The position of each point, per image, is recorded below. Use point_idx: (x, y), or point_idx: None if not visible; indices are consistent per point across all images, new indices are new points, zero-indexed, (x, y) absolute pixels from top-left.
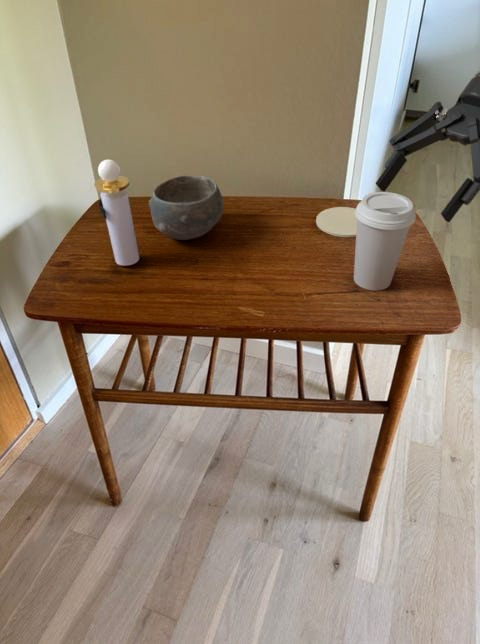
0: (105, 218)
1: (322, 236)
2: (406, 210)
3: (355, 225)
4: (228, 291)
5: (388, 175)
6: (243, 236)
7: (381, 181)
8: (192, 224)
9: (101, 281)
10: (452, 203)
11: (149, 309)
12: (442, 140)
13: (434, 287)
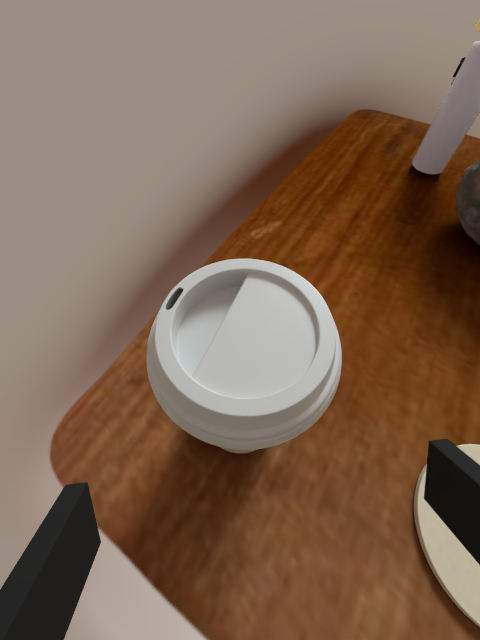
0: (454, 76)
1: (436, 429)
2: (164, 341)
3: None
4: (318, 225)
5: (478, 507)
6: (467, 298)
7: (443, 457)
8: (464, 187)
9: (390, 147)
10: (35, 539)
11: (320, 163)
12: None
13: (141, 522)
